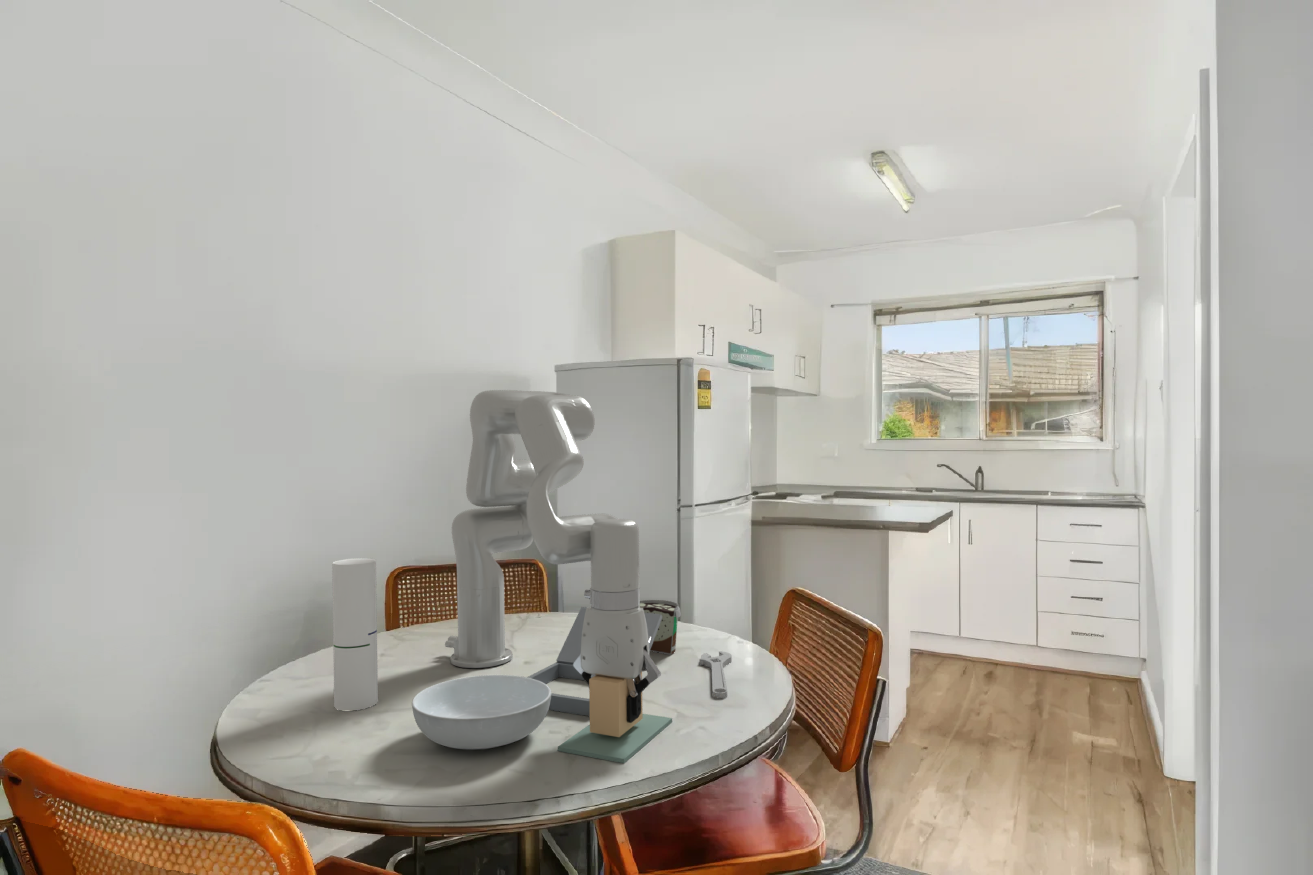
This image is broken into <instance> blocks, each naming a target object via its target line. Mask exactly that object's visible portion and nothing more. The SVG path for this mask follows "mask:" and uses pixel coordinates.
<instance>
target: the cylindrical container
mask: <svg viewBox="0 0 1313 875" xmlns="http://www.w3.org/2000/svg"><path fill="white" fill-rule="evenodd" d="M331 564H332V565H331V566H332V568H331V569H332V570H331V572H332V573H331V574H332V577H331V578H332V630H333V631H332V638H333V639H332V645H333V646H332V647H333V652H332V653H333V697H334V698H333V708H334V707H335V708H336V709H338V710H337V711H339V710H357V711H361V710H360V709H363V710H365V709H364V708H367V707H370V706H372V707H374V706H376V705H377V704H378V703H379V691H378V690H379V687H378V686H379V684H378V681H379V680H378V679H379V675H378V674H379V673H378V672H379V668H378V623H377V622H378V613H377V608H378V607H377V605H378V604H377V600H378V599H377V597H378V596H377V595H378V594H377V559H376V558H373V557H372V558H371V557H370V558H369V557H357V558H345V559H339V560H334V561H333V562H332V563H331ZM377 702H378V703H377ZM376 703H377V704H376ZM375 704H376V705H375ZM373 705H374V706H373ZM335 708H334V709H335ZM370 708H371V707H370ZM336 709H335V710H336ZM367 709H368V708H367Z"/></svg>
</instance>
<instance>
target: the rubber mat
mask: <svg viewBox="0 0 1313 875" xmlns="http://www.w3.org/2000/svg"><path fill="white" fill-rule="evenodd" d="M672 722H673V718H672V717H669V716H668V717H667V716H661V715H654V714H648V713H643V719H642V720H640V721H639V722H638V723H637V724H635V725H634V726H633V727H631V728H630V729H629V730H628V731H626V732H625V733H624V734H623V735H621V736H620V737H615V736H609V735H604V734H598V733H592V732H590V724H589V725H588V724H587V726H585V727H584V728H582V729H581V730H580V731H578V732H577V733H575V734H574V735H573V736H571V737H570V738H568V739H566V740H565V741H564V742H563V743H561V744H560V745H558V746H557V751H558V752H561V753H566V754H567V753H568V754H571V755H572V754H573V755H578V756H584V757H588V758H594V759H600V760H603V761H604V760H605V761H611V762H614V763H621V764H625V763H626V762H628V761H629V760H630V759H631V758H632V757H634V756H635V755H636V754H637V753H638V752H639V751H640V750H641V749H643V748H644V747H645V746H646V745H647V744H649V743H650V742H651V741H652V740H653V739H654V738H655V737H657V736H658V735H659V734H660V733H661V732H662V731H664V730H665V729H666V728H667V727H668V726H669V725H670V724H672Z"/></svg>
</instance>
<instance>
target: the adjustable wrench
mask: <svg viewBox="0 0 1313 875" xmlns="http://www.w3.org/2000/svg"><path fill="white" fill-rule="evenodd" d="M729 663H730V664H731V663H732V654H731V653H729V652H727V651H723V650H722V651H718V656H712V655H711V654H709V653H708V652H703V653H702V654H701V656H700V658H699V664H700V666H705V667H707V668H709V669H710V670H711V683H712V686H711V687H712V688H711V689H712V697H713V698H714V699H718V698H723V699H726V698H728V688H727V683H726V682H727V681H726V676H725V671H724V668H726V667H727V666H728V665H730V664H729ZM726 665H727V666H726Z"/></svg>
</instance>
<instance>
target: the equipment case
mask: <svg viewBox="0 0 1313 875" xmlns="http://www.w3.org/2000/svg"><path fill="white" fill-rule="evenodd" d="M588 607H589V606H581V607H580V609H579V611H578V613H577V616H576V618H575V619H574V622H573V623H572V624H573V625H572V626H571V627H570V630H569V632H568V634H567V636H566V639H565V641H564V643H563V645H562V647H561V649H560V651H559V653H558V656H557V658H556V660H555V661H556V662H554V663H552V664H550V665H548V666H546V667H544V668H542V669H541V670H538V671H537V672H535V673H533V674H531V675H529V676H527V678H531V679H535V680H538V681H540V682H543V683H544V684H546V685H547V684H548V683H550V682H553V681H554V680H555V679H557V678H565V679H572V680H578V681H580V680H581V681H585V680H584V678H583V677H582V674H580V673H579V672H578V671H577V670H576V669H575V668H574V666H573V664H574V662H575V661H576V659H577V658H578V657H579V655H580V654H581V639H582V629H583V623H584V617H585V612H586V608H588ZM644 614H645V619H646V624H647V630H648V639H649V653H650V649H651V646H652V644H653V641H654V638H655V636H656V633H657V630H658V628H659V625H660V622H661V620H662V615H661V614H654V613H644ZM553 710H554V711H555V712H559V711H560V713H561V712H562V713H567V714H573V715H580V716H584V715H588V716H587V717H590V700H589V698H587V697H580V696H574V695H566V694H559V693H552V692H551V700H550V705H549V709H548V711H553Z"/></svg>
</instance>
